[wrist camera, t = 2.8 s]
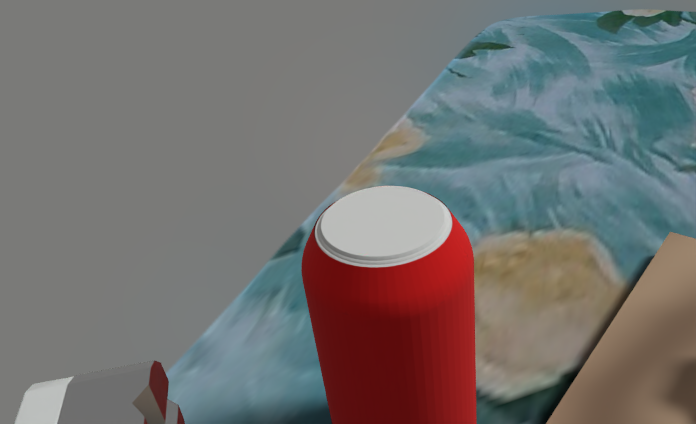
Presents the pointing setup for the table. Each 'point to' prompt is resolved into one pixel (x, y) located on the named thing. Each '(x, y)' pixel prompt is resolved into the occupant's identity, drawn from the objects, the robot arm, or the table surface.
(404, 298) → the beverage can
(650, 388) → the brown flat sheet
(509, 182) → the table surface
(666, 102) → the table surface
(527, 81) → the table surface
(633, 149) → the table surface
